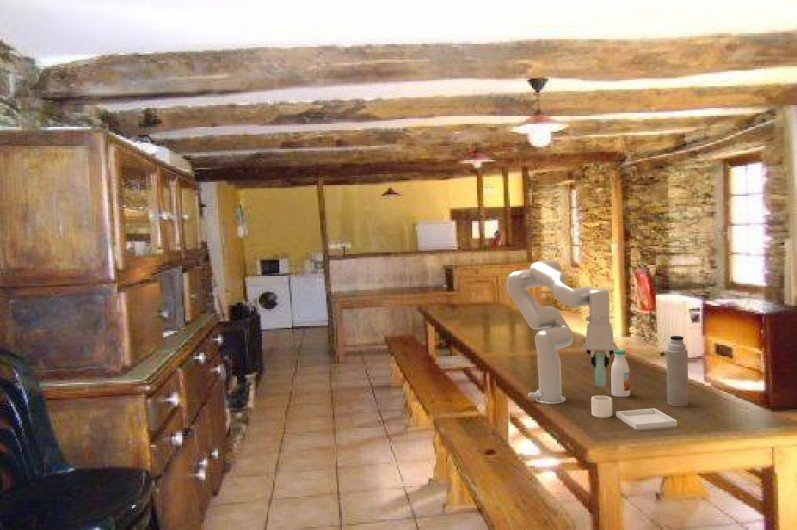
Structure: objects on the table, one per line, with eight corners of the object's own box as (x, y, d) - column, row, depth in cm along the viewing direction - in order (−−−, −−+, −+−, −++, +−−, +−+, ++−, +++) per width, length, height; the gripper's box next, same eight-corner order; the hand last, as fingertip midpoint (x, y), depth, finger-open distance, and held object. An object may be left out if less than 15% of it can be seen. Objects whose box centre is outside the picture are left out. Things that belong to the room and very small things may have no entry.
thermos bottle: (664, 401, 269) (662, 335, 267) (682, 400, 269) (681, 334, 267) (672, 406, 261) (671, 338, 259) (692, 405, 261) (691, 337, 259)
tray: (636, 431, 235) (635, 424, 235) (616, 417, 251) (616, 411, 251) (677, 427, 237) (677, 420, 237) (654, 414, 253) (654, 408, 252)
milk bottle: (618, 398, 277) (617, 352, 275) (608, 393, 284) (606, 349, 283) (633, 396, 279) (633, 350, 277) (623, 391, 286) (622, 347, 285)
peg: (597, 386, 251) (597, 356, 250) (593, 383, 255) (593, 354, 254) (607, 385, 252) (607, 355, 251) (603, 383, 256) (602, 353, 255)
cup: (596, 419, 250) (596, 401, 249) (588, 413, 258) (588, 396, 257) (615, 417, 251) (615, 400, 250) (607, 412, 259) (606, 394, 258)
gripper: (576, 321, 251) (577, 367, 252) (622, 322, 245) (622, 369, 247) (577, 318, 258) (578, 363, 259) (621, 319, 253) (622, 364, 254)
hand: (600, 365), depth 253 cm, fingers closed on peg, 4 cm apart
